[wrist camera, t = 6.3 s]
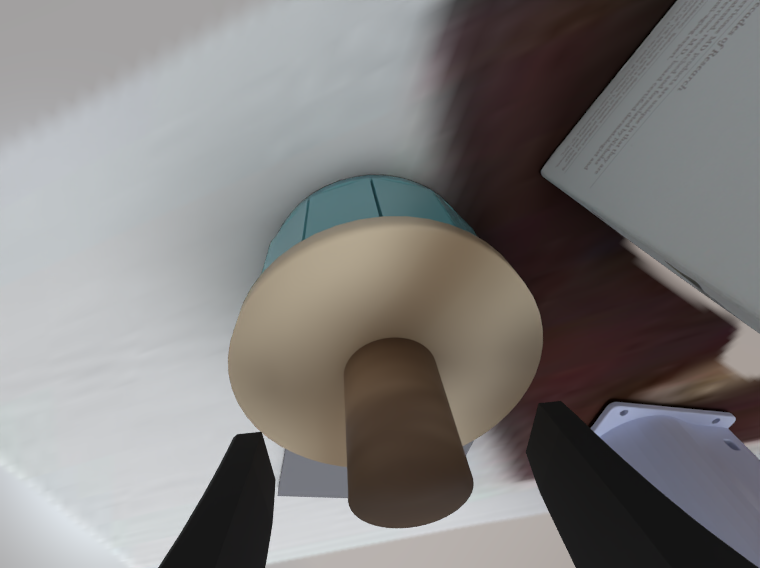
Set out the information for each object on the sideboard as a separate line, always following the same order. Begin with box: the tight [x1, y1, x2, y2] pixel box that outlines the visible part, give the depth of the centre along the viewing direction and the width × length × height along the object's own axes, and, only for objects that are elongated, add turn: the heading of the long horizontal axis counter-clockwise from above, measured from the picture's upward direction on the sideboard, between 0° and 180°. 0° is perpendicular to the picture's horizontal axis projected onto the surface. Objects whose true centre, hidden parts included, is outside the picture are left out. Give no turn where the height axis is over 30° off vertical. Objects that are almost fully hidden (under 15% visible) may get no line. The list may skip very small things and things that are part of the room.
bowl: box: [261, 175, 478, 274], centre depth 16 cm, size 9×9×5 cm
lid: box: [228, 216, 543, 528], centre depth 12 cm, size 10×10×5 cm
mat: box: [278, 440, 474, 498], centre depth 24 cm, size 11×11×1 cm
